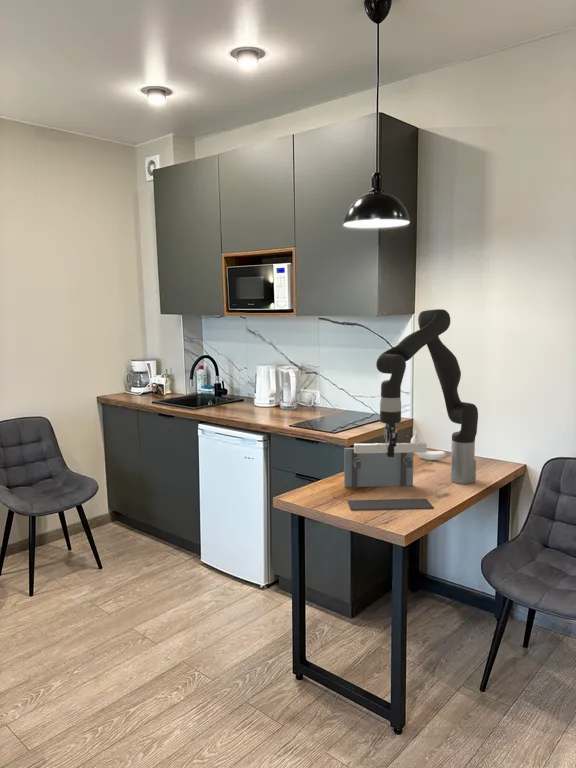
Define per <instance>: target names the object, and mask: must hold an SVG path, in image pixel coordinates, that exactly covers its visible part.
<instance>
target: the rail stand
mask: <svg viewBox="0 0 576 768" xmlns="http://www.w3.org/2000/svg"><path fill="white" fill-rule="evenodd" d="M343 450H344V451H343V459H344V460H343V462H344V463H343V464H344V465H343V466H344V467H343V470H344V471H343V473H344V476H343V478H344V479H343V480H344V481H343V483H344V484H343V485H344V486H343V487H344V488H356V489H357V488H361V487H362V488H365V487H367V488H369V487H371V488H372V487H374V488H375V487H403V488H404V486H406V487H407V486H409V487H410V485H413V486H414V452H411V453H394V457H388V455H387V454H386V453H354V447H344V448H343Z"/></svg>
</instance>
